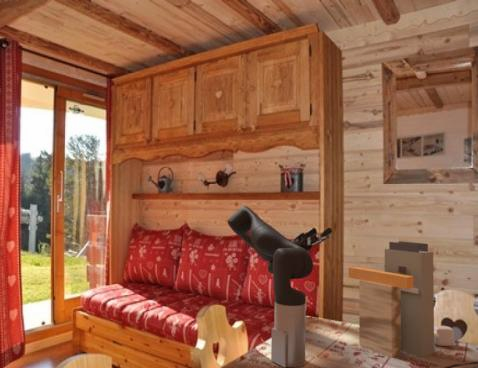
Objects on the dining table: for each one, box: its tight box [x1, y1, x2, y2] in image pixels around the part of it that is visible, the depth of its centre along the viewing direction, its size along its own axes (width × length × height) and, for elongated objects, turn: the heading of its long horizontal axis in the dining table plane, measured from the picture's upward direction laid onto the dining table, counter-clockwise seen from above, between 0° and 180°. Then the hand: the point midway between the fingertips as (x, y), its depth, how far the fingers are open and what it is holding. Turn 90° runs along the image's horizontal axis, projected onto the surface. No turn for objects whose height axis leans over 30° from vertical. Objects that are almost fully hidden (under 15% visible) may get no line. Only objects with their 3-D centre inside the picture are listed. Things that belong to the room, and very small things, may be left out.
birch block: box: [358, 279, 402, 358], centre depth 127 cm, size 5×12×22 cm, turn 35°
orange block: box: [348, 266, 414, 289], centre depth 128 cm, size 4×22×4 cm, turn 35°
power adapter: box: [434, 325, 455, 347], centre depth 132 cm, size 11×5×6 cm, turn 83°
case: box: [384, 240, 435, 359], centre depth 128 cm, size 7×13×34 cm, turn 35°
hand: (323, 230), depth 152 cm, fingers open, 8 cm apart
